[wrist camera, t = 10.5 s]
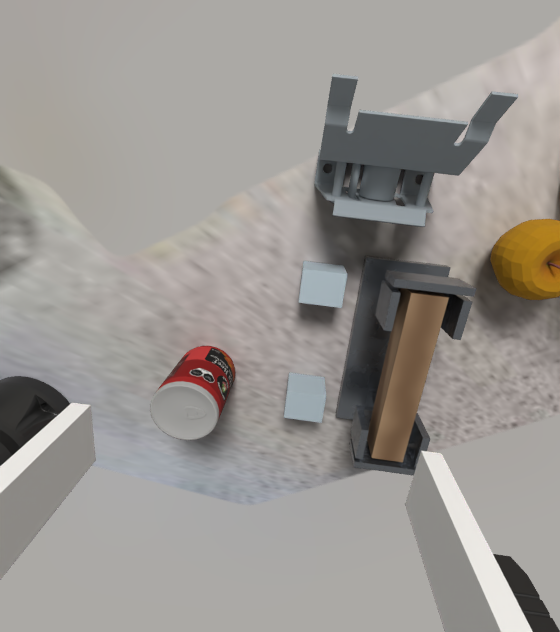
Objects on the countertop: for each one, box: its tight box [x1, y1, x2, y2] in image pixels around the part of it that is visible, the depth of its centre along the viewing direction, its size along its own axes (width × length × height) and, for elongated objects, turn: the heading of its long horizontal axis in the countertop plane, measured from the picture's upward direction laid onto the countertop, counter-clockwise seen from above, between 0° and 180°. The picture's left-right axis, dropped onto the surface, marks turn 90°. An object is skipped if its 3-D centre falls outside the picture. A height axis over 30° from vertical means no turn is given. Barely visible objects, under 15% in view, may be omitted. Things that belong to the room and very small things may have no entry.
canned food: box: [150, 346, 235, 440], centre depth 45 cm, size 8×8×11 cm
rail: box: [367, 288, 449, 462], centre depth 39 cm, size 4×20×4 cm, turn 174°
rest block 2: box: [284, 373, 326, 423], centre depth 48 cm, size 5×4×5 cm
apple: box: [490, 219, 560, 300], centre depth 38 cm, size 8×8×9 cm
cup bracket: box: [336, 256, 476, 475], centre depth 42 cm, size 10×23×11 cm, turn 174°
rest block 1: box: [299, 261, 347, 308], centre depth 42 cm, size 5×4×5 cm
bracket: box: [315, 74, 518, 227], centre depth 33 cm, size 13×10×15 cm
